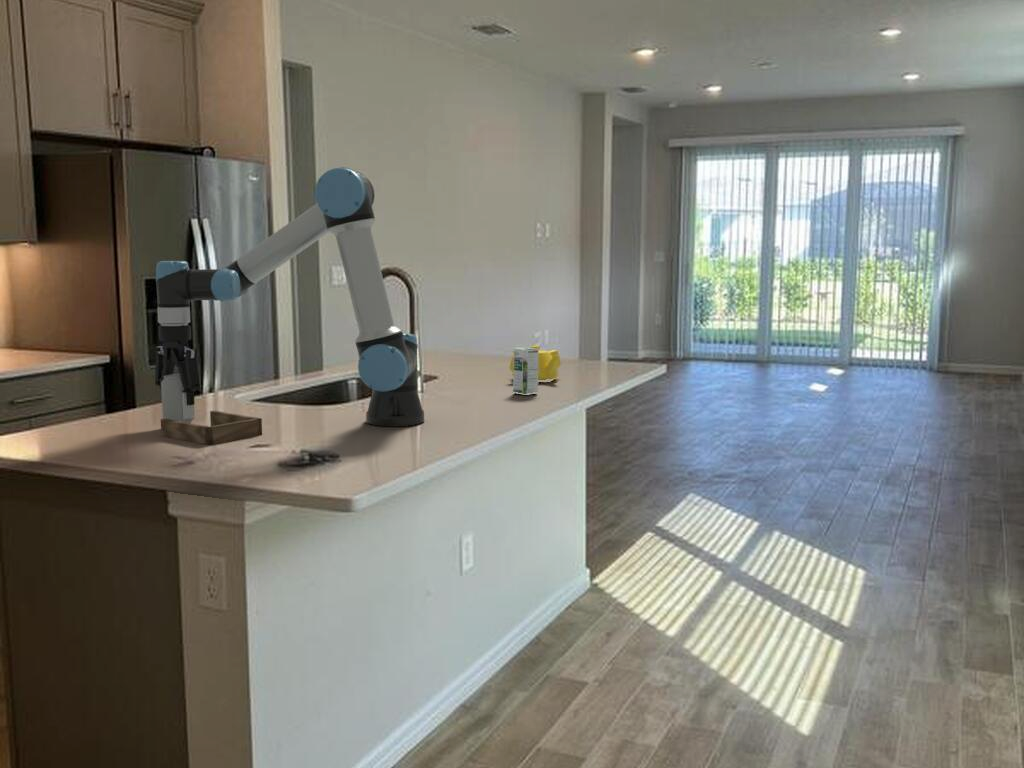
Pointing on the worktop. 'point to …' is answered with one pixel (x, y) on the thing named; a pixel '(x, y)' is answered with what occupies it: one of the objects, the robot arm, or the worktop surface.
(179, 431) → the walnut box
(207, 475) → the worktop surface
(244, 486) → the worktop surface
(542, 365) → the teapot
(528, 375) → the syrup box
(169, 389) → the can
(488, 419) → the worktop surface
